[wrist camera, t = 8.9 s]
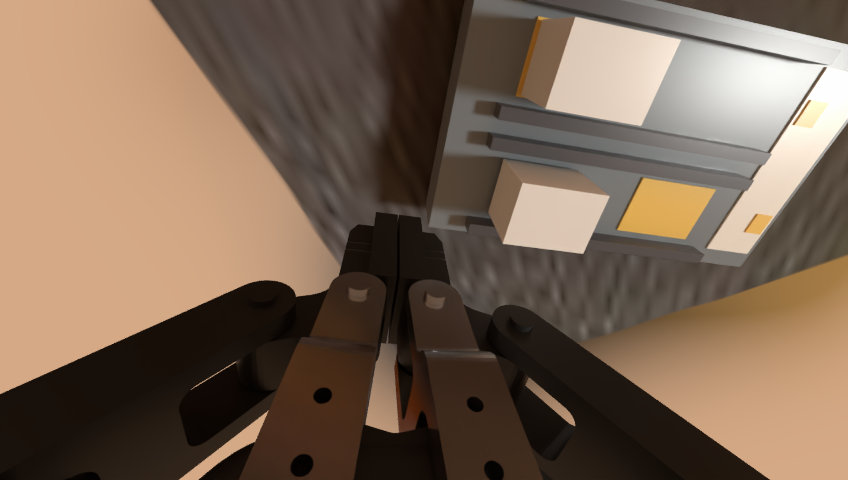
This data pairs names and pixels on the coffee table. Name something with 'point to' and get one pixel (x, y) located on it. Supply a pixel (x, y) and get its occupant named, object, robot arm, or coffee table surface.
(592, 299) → the coffee table surface
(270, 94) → the coffee table surface
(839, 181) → the coffee table surface
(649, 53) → the switch
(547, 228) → the switch
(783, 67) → the switch panel
